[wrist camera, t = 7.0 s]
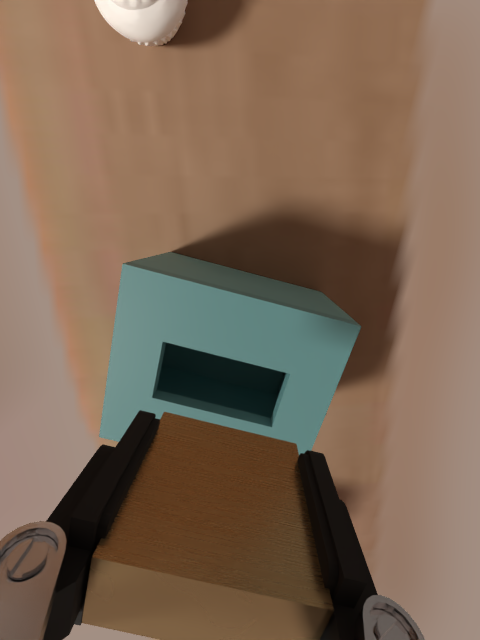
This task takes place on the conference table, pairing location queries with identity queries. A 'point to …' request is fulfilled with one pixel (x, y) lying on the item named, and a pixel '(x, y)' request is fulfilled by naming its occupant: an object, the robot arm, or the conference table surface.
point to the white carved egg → (144, 19)
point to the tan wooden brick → (211, 542)
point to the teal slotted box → (223, 349)
